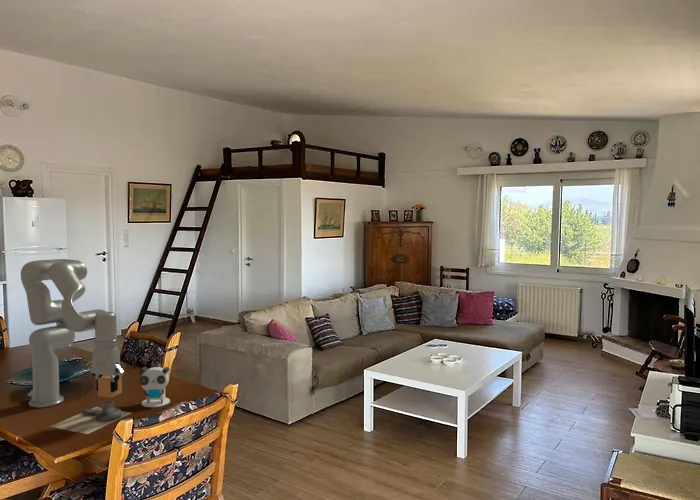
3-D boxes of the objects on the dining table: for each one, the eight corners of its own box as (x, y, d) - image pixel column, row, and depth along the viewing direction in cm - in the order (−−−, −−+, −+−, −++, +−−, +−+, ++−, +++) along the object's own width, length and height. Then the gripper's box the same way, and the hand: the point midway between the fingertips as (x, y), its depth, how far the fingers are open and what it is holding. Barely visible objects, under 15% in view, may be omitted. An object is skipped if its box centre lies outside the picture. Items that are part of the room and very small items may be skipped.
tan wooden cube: (98, 396, 205) (97, 378, 204) (109, 391, 210) (109, 373, 210) (110, 397, 203) (110, 379, 202) (122, 392, 208) (121, 375, 208)
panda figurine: (135, 407, 219) (135, 371, 218) (146, 397, 231) (145, 363, 230) (164, 407, 219) (164, 371, 219) (173, 398, 231) (173, 364, 230)
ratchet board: (49, 430, 196) (49, 410, 196) (96, 410, 217) (96, 392, 216) (87, 438, 190) (87, 417, 190) (131, 416, 211) (131, 398, 210)
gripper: (80, 344, 203) (81, 391, 204) (117, 348, 198) (118, 395, 199) (95, 340, 210) (96, 385, 211) (131, 343, 205) (132, 389, 206)
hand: (107, 389), depth 205 cm, fingers closed on tan wooden cube, 6 cm apart
